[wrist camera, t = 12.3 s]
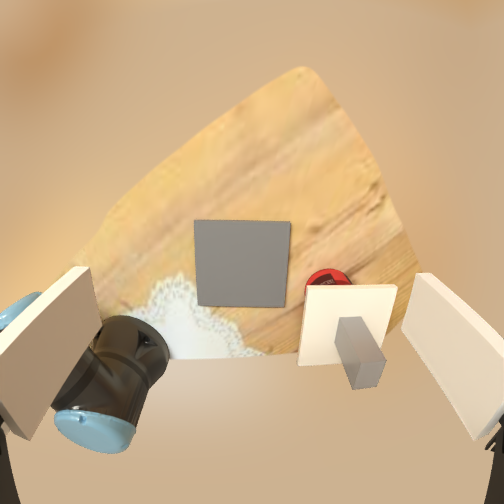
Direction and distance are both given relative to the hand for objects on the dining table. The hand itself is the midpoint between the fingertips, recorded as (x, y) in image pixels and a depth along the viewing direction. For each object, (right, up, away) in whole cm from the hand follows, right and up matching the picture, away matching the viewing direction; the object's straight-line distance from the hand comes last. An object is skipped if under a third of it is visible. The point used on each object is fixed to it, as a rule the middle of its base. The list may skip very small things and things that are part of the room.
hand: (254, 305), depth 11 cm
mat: (-2, 0, +35) cm, 35 cm away
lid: (+12, -8, +26) cm, 30 cm away
